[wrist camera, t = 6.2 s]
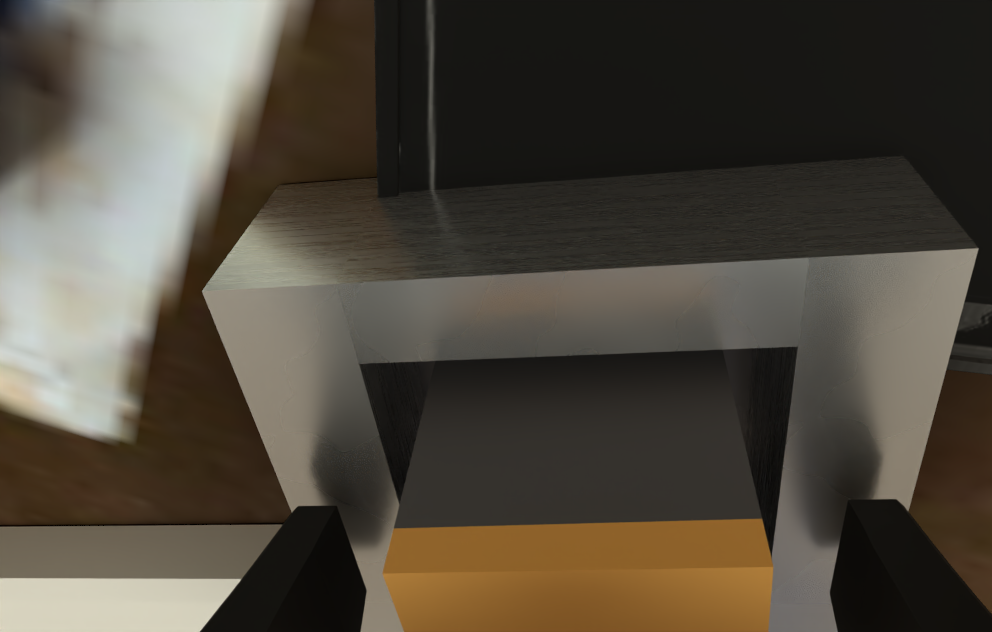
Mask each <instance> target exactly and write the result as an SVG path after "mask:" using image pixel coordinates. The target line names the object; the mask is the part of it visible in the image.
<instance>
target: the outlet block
mask: <svg viewBox="0 0 992 632" xmlns="http://www.w3.org/2000/svg"><path fill="white" fill-rule="evenodd" d="M978 249H979V248H978V247H977V246H976V244H975V243H974V242H973V241H972V240H971V238H970V237H969V236H968V235H967V233H966V232H965V231H964V230H963V228H962V227H961V226H960V225H959V223H958V222H957V221H956V220H955V219H954V217H953V216H952V215H951V214H950V212H949V211H948V210H947V209H946V207H945V206H944V205H943V204H942V202H941V201H940V200H939V199H938V198H937V196H936V195H935V194H934V193H933V191H932V190H931V189H930V188H929V186H928V185H927V184H926V183H925V182H924V180H923V179H922V178H921V177H920V175H919V174H918V173H917V172H916V170H915V169H914V168H913V167H912V165H911V164H910V163H909V162H908V161H907V159H906V158H905V157H904V156H891V157H877V158H863V159H850V160H836V161H822V162H809V163H795V164H781V165H767V166H754V167H740V168H726V169H713V170H699V171H685V172H671V173H658V174H644V175H630V176H616V177H603V178H589V179H575V180H562V181H548V182H534V183H520V184H507V185H493V186H479V187H466V188H452V189H438V190H424V191H411V192H399V194H398V196H397V197H385V198H377V178H367V179H354V180H341V181H327V182H314V183H301V184H288V185H278V187H277V188H276V189H275V191H274V192H273V194H272V195H271V196H270V198H269V199H268V201H267V202H266V203H265V205H264V206H263V207H262V209H261V210H260V212H259V213H258V214H257V216H256V217H255V219H254V220H253V221H252V223H251V224H250V225H249V227H248V228H247V230H246V231H245V232H244V234H243V235H242V237H241V238H240V239H239V241H238V242H237V243H236V245H235V246H234V248H233V249H232V250H231V252H230V253H229V254H228V256H227V257H226V259H225V260H224V261H223V263H222V264H221V266H220V267H219V268H218V270H217V271H216V272H215V274H214V275H213V277H212V278H211V279H210V281H209V282H208V284H207V285H206V286H205V288H204V289H203V290H202V293H203V295H204V298H205V300H206V303H207V305H208V308H209V310H210V312H211V315H212V317H213V320H214V322H215V325H216V327H217V330H218V332H219V335H220V337H221V339H222V342H223V344H224V347H225V349H226V352H227V354H228V357H229V359H230V362H231V364H232V367H233V369H234V371H235V374H236V376H237V379H238V381H239V384H240V386H241V389H242V391H243V394H244V396H245V399H246V401H247V403H248V406H249V408H250V411H251V413H252V416H253V418H254V421H255V423H256V426H257V428H258V431H259V433H260V435H261V438H262V440H263V443H264V445H265V448H266V450H267V453H268V455H269V458H270V460H271V463H272V465H273V467H274V470H275V472H276V475H277V477H278V480H279V482H280V485H281V487H282V490H283V492H284V494H285V497H286V499H287V502H288V504H289V507H290V509H291V512H293V511H294V510H295V509H296V508H297V507H298V506H337V508H338V510H339V513H340V516H341V519H342V522H343V524H344V527H345V530H346V533H347V536H348V539H349V541H350V544H351V547H352V550H353V553H354V555H355V558H356V561H357V564H358V567H359V570H360V572H361V575H362V578H363V581H364V584H365V586H366V589H367V593H366V600H365V606H364V613H363V619H362V626H361V632H404V630H403V628H402V625H401V622H400V620H399V617H398V614H397V612H396V609H395V606H394V603H393V601H392V598H391V595H390V593H389V590H388V587H387V585H386V582H385V579H384V577H383V574H382V573H383V569H384V565H385V561H386V557H387V553H388V549H389V545H390V541H391V537H392V533H393V529H394V525H395V521H396V517H397V513H398V509H399V505H400V501H401V497H402V493H403V489H404V485H405V481H406V477H407V473H408V469H409V465H410V461H411V457H412V453H413V449H414V444H415V440H416V436H417V432H418V428H419V424H420V420H421V416H422V412H423V408H424V404H425V400H426V396H427V392H428V388H429V384H430V380H431V376H432V372H433V368H434V364H435V361H444V360H469V359H494V358H520V357H545V356H571V355H596V354H621V353H647V352H672V351H698V350H723V354H724V358H725V362H726V367H727V371H728V375H729V379H730V384H731V388H732V392H733V397H734V401H735V405H736V409H737V414H738V418H739V422H740V426H741V431H742V435H743V439H744V443H745V448H746V452H747V456H748V460H749V465H750V469H751V473H752V477H753V482H754V486H755V490H756V495H757V499H758V503H759V507H760V512H761V516H762V520H763V524H764V529H765V533H766V537H767V541H768V546H769V550H770V554H771V558H772V563H773V579H772V592H771V604H770V617H769V629H768V632H838V631H837V627H836V622H835V617H834V612H833V607H832V602H831V598H830V588H831V583H832V578H833V573H834V568H835V563H836V558H837V553H838V548H839V542H840V537H841V532H842V527H843V522H844V517H845V512H846V507H847V502H848V500H857V499H897V500H898V501H899V502H900V503H901V504H903V505H904V507H905V508H906V509H907V511H909V507H910V503H911V500H912V496H913V492H914V488H915V485H916V481H917V477H918V473H919V470H920V466H921V462H922V458H923V455H924V451H925V447H926V443H927V440H928V436H929V432H930V428H931V425H932V421H933V417H934V414H935V410H936V406H937V402H938V399H939V395H940V391H941V387H942V384H943V380H944V376H945V372H946V369H947V365H948V361H949V357H950V354H951V350H952V346H953V342H954V339H955V335H956V331H957V327H958V324H959V320H960V316H961V312H962V309H963V305H964V301H965V297H966V294H967V290H968V286H969V282H970V279H971V275H972V271H973V268H974V264H975V260H976V256H977V253H978Z"/></svg>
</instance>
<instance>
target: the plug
mask: <svg viewBox="0 0 992 632" xmlns="http://www.w3.org/2000/svg"><path fill="white" fill-rule="evenodd" d="M382 574H383V577H384V579H385V582H386V585H387V587H388V590H389V593H390V595H391V598H392V601H393V603H394V606H395V609H396V612H397V614H398V617H399V620H400V622H401V625H402V628H403V630H404V632H768V629H769V617H770V604H771V592H772V579H773V563H772V558H771V554H770V550H769V546H768V541H767V537H766V533H765V529H764V524H763V520H762V516H761V512H760V507H759V503H758V499H757V495H756V490H755V486H754V482H753V477H752V473H751V469H750V465H749V460H748V456H747V452H746V448H745V443H744V439H743V435H742V431H741V426H740V422H739V418H738V414H737V409H736V405H735V401H734V397H733V392H732V388H731V384H730V379H729V375H728V371H727V367H726V362H725V358H724V354H723V350H698V351H672V352H647V353H621V354H596V355H571V356H545V357H520V358H494V359H469V360H444V361H435V364H434V368H433V372H432V376H431V380H430V384H429V388H428V392H427V396H426V400H425V404H424V408H423V412H422V416H421V420H420V424H419V428H418V432H417V436H416V440H415V444H414V449H413V453H412V457H411V461H410V465H409V469H408V473H407V477H406V481H405V485H404V489H403V493H402V497H401V501H400V505H399V509H398V513H397V517H396V521H395V525H394V529H393V533H392V537H391V541H390V545H389V549H388V553H387V557H386V561H385V565H384V569H383V573H382Z"/></svg>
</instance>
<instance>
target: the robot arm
mask: <svg viewBox="0 0 992 632" xmlns="http://www.w3.org/2000/svg"><path fill="white" fill-rule="evenodd" d="M366 593H367V589H366V586H365V584H364V581H363V578H362V575H361V572H360V570H359V567H358V564H357V561H356V558H355V555H354V553H353V550H352V547H351V544H350V541H349V539H348V536H347V533H346V530H345V527H344V524H343V522H342V519H341V516H340V513H339V510H338V508H337V506H298V507H297V508H296V509H295V510H294V511H293V512H292V513H291V514H290V516H289V517H288V518H287V520H286V521H285V522H284V524H283V525H282V526H281V528H280V529H279V530H278V532H277V533H276V534H275V536H274V537H273V538H272V540H271V541H270V542H269V544H268V545H267V546H266V547H265V549H264V550H263V551H262V553H261V554H260V555H259V557H258V558H257V559H256V561H255V562H254V563H253V565H252V566H251V567H250V569H249V570H248V571H247V572H246V574H245V575H244V576H243V578H242V579H241V580H240V582H239V583H238V584H237V586H236V587H235V588H234V589H233V591H232V592H231V593H230V594H229V596H228V597H227V598H226V599H225V601H224V602H223V603H222V604H221V606H220V607H219V608H218V609H217V611H216V612H215V613H214V614H213V616H212V617H211V618H210V619H209V621H208V622H207V623H206V624H205V626H204V627H203V628H202V629H201V631H200V632H361V626H362V619H363V613H364V606H365V600H366ZM830 598H831V602H832V607H833V612H834V617H835V622H836V627H837V631H838V632H992V614H991V613H990V612H989V611H988V609H987V608H986V607H985V606H984V605H983V604H982V602H981V601H980V600H979V599H978V598H977V596H976V595H975V594H974V593H973V592H972V591H971V589H970V588H969V587H968V586H967V584H966V583H965V582H964V581H963V580H962V578H961V577H960V576H959V575H958V574H957V572H956V571H955V570H954V569H953V568H952V566H951V565H950V564H949V563H948V561H947V560H946V559H945V558H944V556H943V555H942V554H941V553H940V551H939V550H938V549H937V548H936V546H935V545H934V544H933V543H932V541H931V540H930V539H929V538H928V536H927V535H926V534H925V533H924V531H923V530H922V529H921V527H920V526H919V525H918V524H917V522H916V521H915V520H914V518H913V517H912V516H911V515H910V513H909V512H908V511H907V509H906V508H905V507H904V505H903V504H901V503H900V502H899V501H898V500H897V499H857V500H848V502H847V507H846V512H845V517H844V522H843V527H842V532H841V537H840V542H839V548H838V553H837V558H836V563H835V568H834V573H833V578H832V583H831V588H830Z"/></svg>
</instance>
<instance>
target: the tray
mask: <svg viewBox="0 0 992 632" xmlns="http://www.w3.org/2000/svg"><path fill="white" fill-rule="evenodd" d="M281 526H282V525H157V526H30V527H0V632H200V631H201V629H202V628H203V627H204V626H205V624H206V623H207V622H208V621H209V619H210V618H211V617H212V616H213V614H214V613H215V612H216V611H217V609H218V608H219V607H220V606H221V604H222V603H223V602H224V601H225V599H226V598H227V597H228V596H229V594H230V593H231V592H232V591H233V589H234V588H235V587H236V586H237V584H238V583H239V582H240V580H241V579H242V578H243V576H244V575H245V574H246V572H247V571H248V570H249V569H250V567H251V566H252V565H253V563H254V562H255V561H256V559H257V558H258V557H259V555H260V554H261V553H262V551H263V550H264V549H265V547H266V546H267V545H268V544H269V542H270V541H271V540H272V538H273V537H274V536H275V534H276V533H277V532H278V530H279V529H280V528H281Z"/></svg>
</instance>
